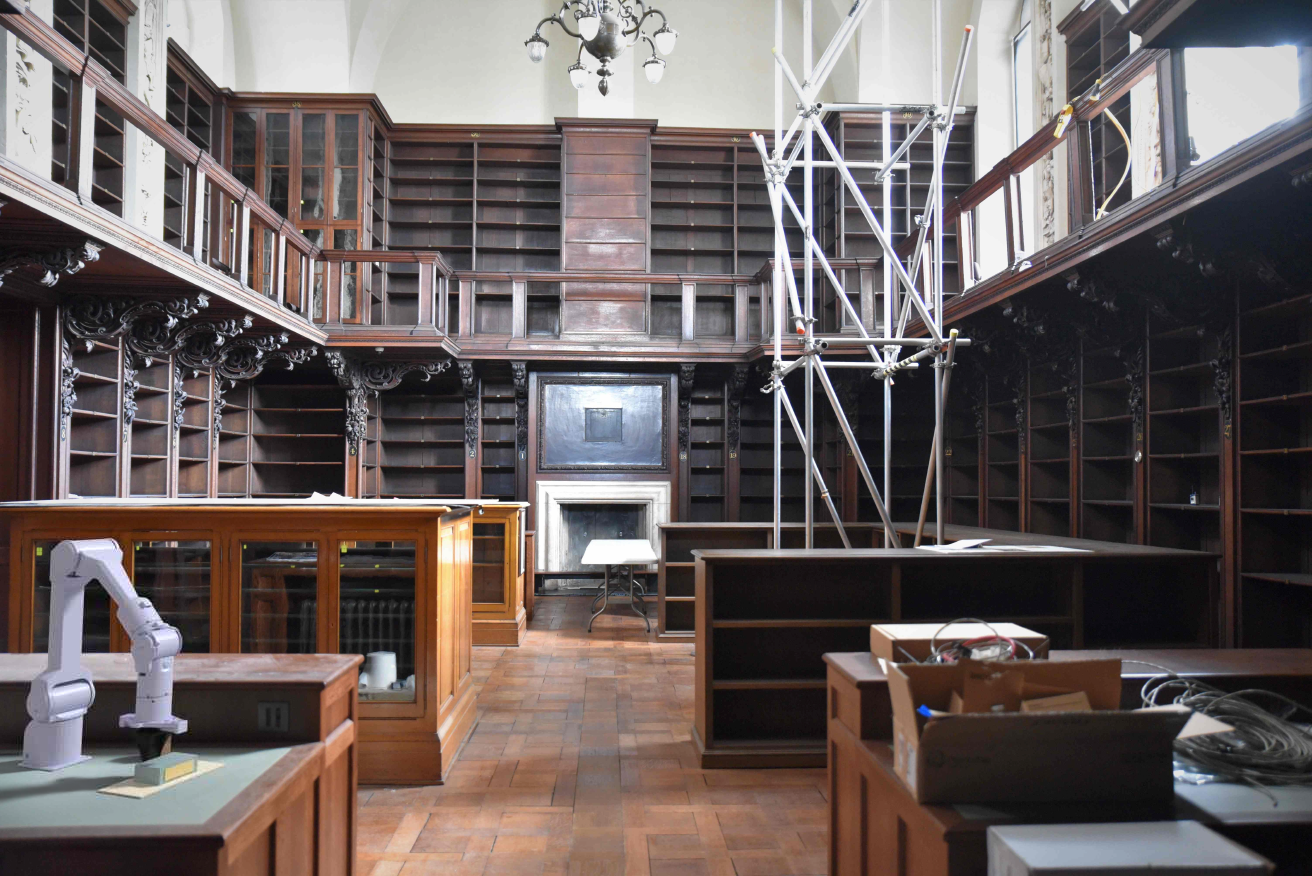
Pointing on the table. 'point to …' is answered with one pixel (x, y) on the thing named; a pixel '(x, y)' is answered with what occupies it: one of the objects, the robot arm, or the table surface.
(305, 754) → the table surface
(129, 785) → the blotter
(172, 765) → the blue-grey box
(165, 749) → the walnut bookend
